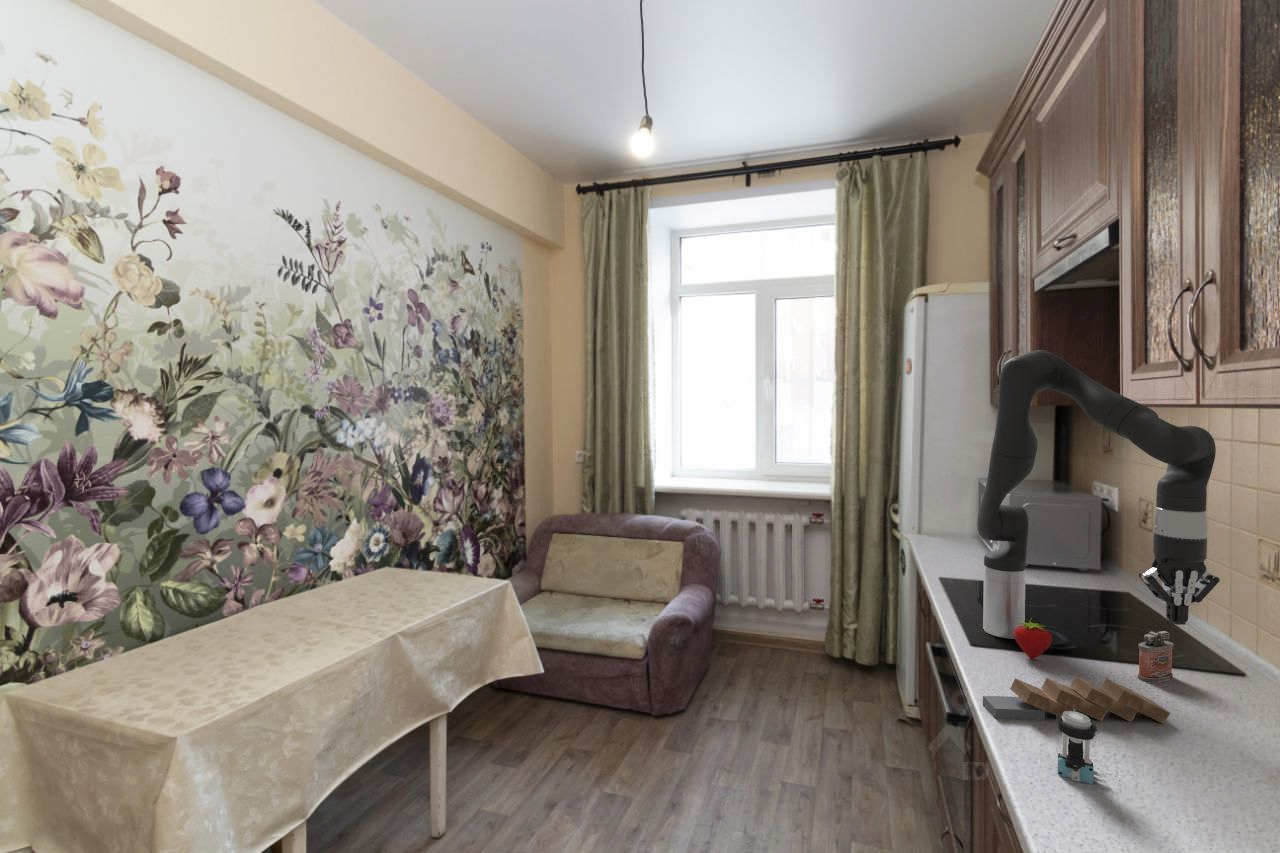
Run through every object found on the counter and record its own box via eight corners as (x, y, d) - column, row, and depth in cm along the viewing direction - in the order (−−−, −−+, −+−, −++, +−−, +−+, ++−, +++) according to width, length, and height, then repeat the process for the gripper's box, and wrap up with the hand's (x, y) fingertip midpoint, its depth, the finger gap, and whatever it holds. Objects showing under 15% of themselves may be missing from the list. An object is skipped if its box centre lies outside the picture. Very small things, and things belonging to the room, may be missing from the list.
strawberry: (1052, 667, 137) (1053, 623, 136) (1013, 660, 141) (1014, 618, 140) (1050, 657, 142) (1051, 615, 141) (1013, 650, 146) (1013, 610, 145)
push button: (1105, 776, 98) (1106, 716, 97) (1107, 794, 93) (1108, 731, 93) (1055, 763, 101) (1056, 704, 101) (1055, 779, 97) (1056, 719, 97)
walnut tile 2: (1130, 722, 114) (1085, 698, 114) (1113, 708, 119) (1069, 686, 119) (1137, 711, 113) (1092, 688, 114) (1119, 698, 118) (1076, 676, 119)
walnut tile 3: (1101, 721, 114) (1055, 700, 115) (1085, 707, 119) (1041, 688, 120) (1107, 710, 114) (1061, 689, 115) (1090, 697, 119) (1046, 677, 120)
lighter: (1149, 684, 128) (1151, 637, 128) (1133, 676, 132) (1134, 631, 131) (1177, 678, 130) (1178, 633, 130) (1160, 672, 134) (1161, 627, 133)
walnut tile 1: (1163, 724, 113) (1117, 701, 114) (1144, 710, 118) (1100, 688, 119) (1170, 713, 113) (1124, 690, 113) (1150, 699, 118) (1106, 678, 118)
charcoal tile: (1044, 722, 115) (995, 720, 116) (1030, 709, 120) (982, 707, 121) (1044, 710, 115) (995, 708, 115) (1030, 697, 120) (982, 695, 120)
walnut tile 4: (1068, 720, 114) (1025, 702, 114) (1050, 706, 119) (1009, 688, 119) (1074, 709, 114) (1031, 691, 114) (1056, 695, 119) (1015, 678, 119)
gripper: (1156, 537, 110) (1153, 630, 111) (1236, 537, 109) (1232, 631, 110) (1127, 527, 118) (1125, 615, 119) (1202, 528, 116) (1199, 616, 117)
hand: (1177, 623), depth 114 cm, fingers closed
